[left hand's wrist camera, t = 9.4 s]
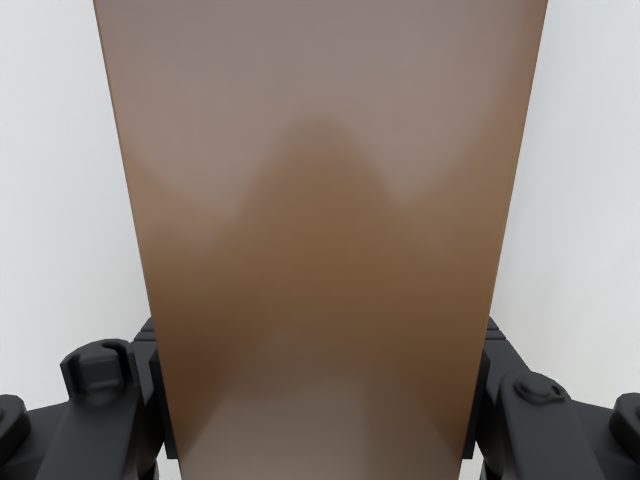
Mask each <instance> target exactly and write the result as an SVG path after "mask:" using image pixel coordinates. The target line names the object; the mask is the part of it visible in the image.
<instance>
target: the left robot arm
mask: <svg viewBox="0 0 640 480" xmlns="http://www.w3.org/2000/svg"><path fill="white" fill-rule="evenodd" d="M60 367H61V371H62V374H63V378H64V381H65V384H66V388H67V391H68V395H69V400H68V401H67V402H64V403H61V404H57V405H52V406H48V407H43V408H39V409H34V410H30V411H27V410H26V407H25V405H24V402H23V400H22V399H20V398H19V397H18V396H15V395H7V394H5V395H0V480H159V471H158V465H157V460H156V458H157V456H158V454H159V451H160V449H161V447H162V445H163V442H164V445H165V450H166V455H167V459H178V457H177V452H176V446H175V441H174V436H173V430H172V425H171V419H170V414H169V409H168V403H167V398H166V392H165V387H164V382H163V376H162V371H161V365H160V360H159V355H158V349H157V344H156V338H155V333H154V328H153V322H152V317H150V318H149V319H148V320H147V322H146V323H145V324H144V326H143V327H142V329H141V332H139V333H138V334H137V335H136V337H135V338H134V341H133V342H131V343H129V342H128V341H125V340H121V339H104V340H100V341H95V342H91V343H89V344H87V345H84V346H82V347H80V348H77V349H76V350H75V351H73V352H72V353H70V354H69V355H67V356H66V357H65V359H64V360H63V361H62V362H61V363H60ZM475 442H477V444H478V446H479V448H480V451H481V453H482V455H483V457H484V460H483V465H482V469H481V474H480V479H479V480H640V393H627V394H622V395H621V396H620V397H619V398H617V400H616V403H615V405H614V408H613V409H609V408H604V407H600V406H595V405H591V404H586V403H582V402H578V401H575V400H571V397H570V396H569V395H568V393H567V392H566V390H565V389H564V388H563V387H562V386H560V385H559V384H558V383H557V382H555V381H554V380H552V379H550V378H548V377H546V376H544V375H542V374H539V373H536V372H532V371H530V369H529V368H528V367H527V365H526V364H525V363H524V361H523V360H522V359H521V357H520V356H519V354H518V353H517V352H516V350H515V349H514V348H513V346H512V345H511V344H510V342H509V341H508V340H506V337H505V336H504V334H503V333H502V332H501V331H499V328H498V326H497V325H496V324H495V322H494V321H493V320H492V318H491V317H490V316H489V318H488V324H487V329H486V334H485V340H484V345H483V350H482V356H481V361H480V366H479V372H478V377H477V382H476V388H475V393H474V399H473V404H472V409H471V415H470V420H469V425H468V431H467V436H466V441H465V447H464V452H463V457H462V459H472V457H473V452H474V447H475Z"/></svg>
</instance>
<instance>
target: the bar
mask: <svg viewBox="0 0 640 480" xmlns="http://www.w3.org/2000/svg"><path fill="white" fill-rule="evenodd" d="M547 3H548V0H93V4H94V9H95V15H96V20H97V25H98V31H99V36H100V42H101V47H102V52H103V58H104V63H105V69H106V74H107V79H108V85H109V90H110V96H111V101H112V106H113V112H114V117H115V123H116V128H117V133H118V139H119V144H120V150H121V155H122V160H123V166H124V171H125V177H126V182H127V187H128V193H129V198H130V204H131V209H132V214H133V220H134V225H135V231H136V236H137V241H138V247H139V252H140V258H141V263H142V268H143V274H144V279H145V284H146V290H147V295H148V301H149V306H150V311H151V317H152V322H153V328H154V333H155V338H156V344H157V349H158V355H159V360H160V365H161V371H162V376H163V382H164V387H165V392H166V398H167V403H168V409H169V414H170V419H171V425H172V430H173V436H174V441H175V446H176V452H177V457H178V463H179V468H180V473H181V479H182V480H458V479H459V473H460V468H461V463H462V457H463V452H464V447H465V441H466V436H467V431H468V425H469V420H470V415H471V409H472V404H473V399H474V393H475V388H476V382H477V377H478V372H479V366H480V361H481V356H482V350H483V345H484V340H485V334H486V329H487V324H488V318H489V313H490V308H491V302H492V297H493V292H494V286H495V281H496V276H497V270H498V265H499V259H500V254H501V249H502V243H503V238H504V233H505V227H506V222H507V217H508V211H509V206H510V201H511V195H512V190H513V185H514V179H515V174H516V169H517V163H518V158H519V153H520V147H521V142H522V137H523V131H524V126H525V120H526V115H527V110H528V104H529V99H530V94H531V88H532V83H533V78H534V72H535V67H536V62H537V56H538V51H539V46H540V40H541V35H542V30H543V24H544V19H545V14H546V8H547Z"/></svg>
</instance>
